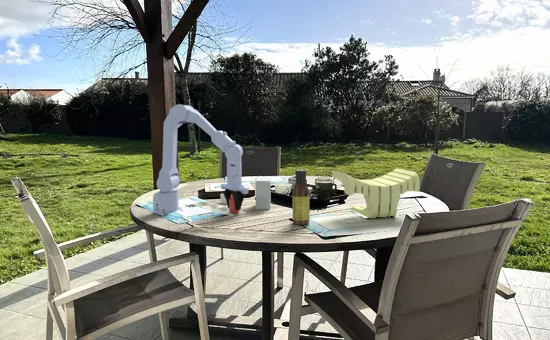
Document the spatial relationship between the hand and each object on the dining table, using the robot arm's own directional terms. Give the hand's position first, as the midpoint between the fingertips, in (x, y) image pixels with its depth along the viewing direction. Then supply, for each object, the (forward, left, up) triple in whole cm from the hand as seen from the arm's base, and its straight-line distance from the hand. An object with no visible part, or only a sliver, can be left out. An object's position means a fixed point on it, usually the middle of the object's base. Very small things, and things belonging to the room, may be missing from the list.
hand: (234, 209), depth 146 cm
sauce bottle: (+10, -26, -3) cm, 28 cm away
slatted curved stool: (+41, -39, -3) cm, 57 cm away
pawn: (0, 0, -1) cm, 1 cm away
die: (+10, +16, -3) cm, 19 cm away
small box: (+15, -1, -3) cm, 15 cm away
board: (0, +10, -2) cm, 11 cm away
